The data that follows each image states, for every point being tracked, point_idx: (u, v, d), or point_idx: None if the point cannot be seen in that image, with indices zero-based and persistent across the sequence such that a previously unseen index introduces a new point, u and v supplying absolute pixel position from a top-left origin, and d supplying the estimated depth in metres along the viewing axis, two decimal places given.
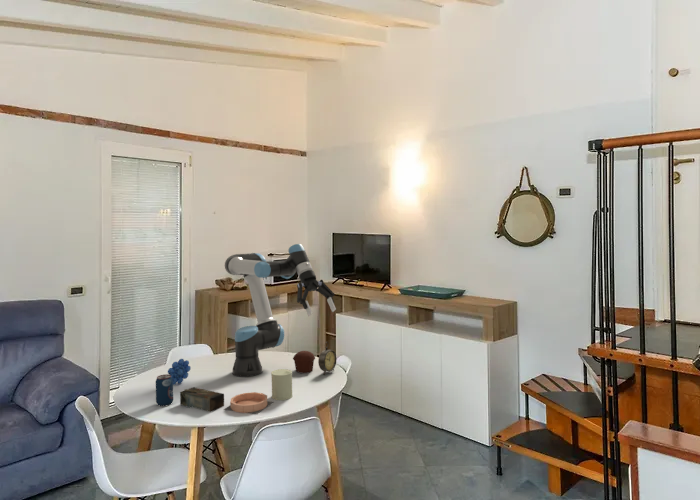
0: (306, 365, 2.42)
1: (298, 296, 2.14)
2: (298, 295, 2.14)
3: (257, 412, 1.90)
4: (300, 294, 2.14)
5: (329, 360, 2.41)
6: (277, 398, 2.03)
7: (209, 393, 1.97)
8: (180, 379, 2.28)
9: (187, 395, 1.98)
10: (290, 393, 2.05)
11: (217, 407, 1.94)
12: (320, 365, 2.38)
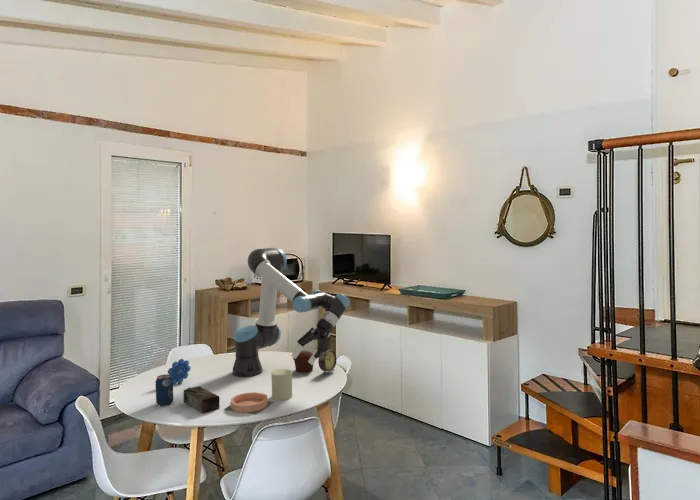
0: (306, 365, 2.42)
1: None
2: None
3: (257, 412, 1.90)
4: (302, 337, 2.24)
5: (329, 360, 2.41)
6: (277, 398, 2.03)
7: (206, 394, 1.96)
8: (180, 379, 2.28)
9: (188, 394, 2.00)
10: (290, 393, 2.05)
11: (210, 409, 1.92)
12: (320, 365, 2.38)
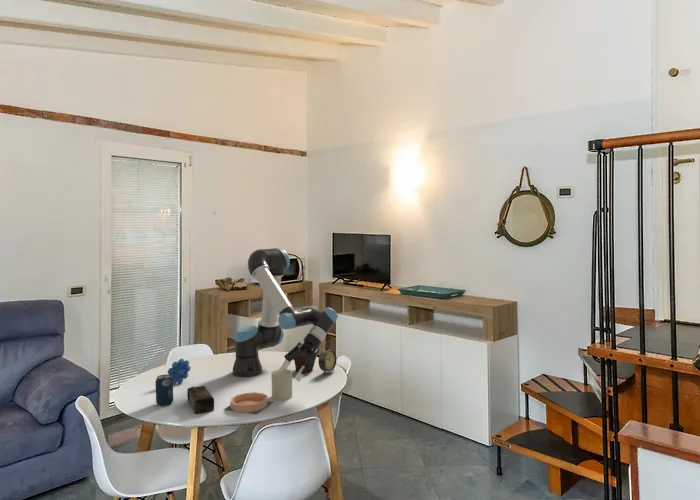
0: None
1: None
2: None
3: (257, 412, 1.90)
4: (289, 352, 2.19)
5: (329, 360, 2.41)
6: (277, 398, 2.03)
7: (202, 395, 1.95)
8: (180, 379, 2.28)
9: (189, 393, 2.01)
10: (290, 393, 2.05)
11: (204, 411, 1.90)
12: (320, 365, 2.38)
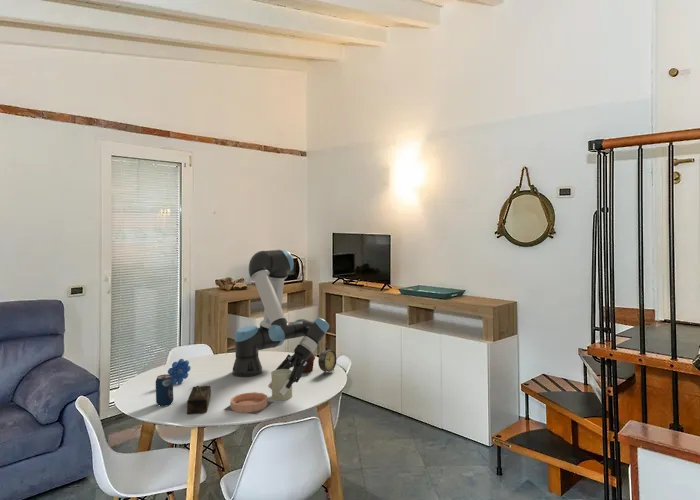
0: None
1: None
2: None
3: (257, 412, 1.90)
4: (279, 366, 2.14)
5: (329, 360, 2.41)
6: (277, 398, 2.03)
7: (198, 395, 1.94)
8: (180, 379, 2.28)
9: None
10: (290, 393, 2.05)
11: (196, 412, 1.89)
12: (320, 365, 2.38)
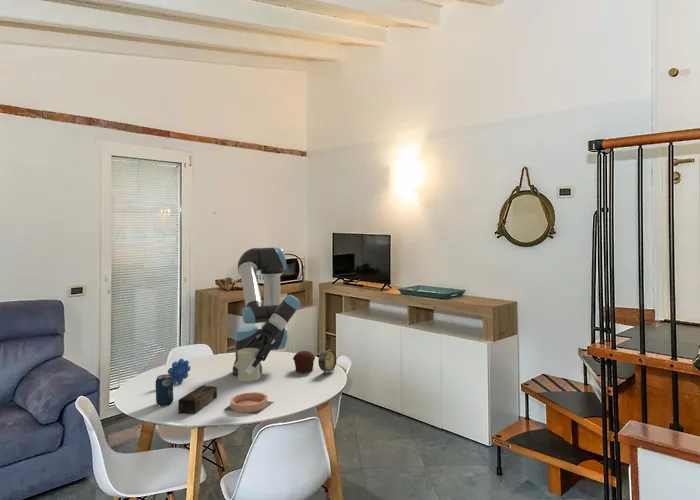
0: (306, 365, 2.42)
1: None
2: None
3: (257, 412, 1.90)
4: (247, 345, 2.03)
5: (329, 360, 2.41)
6: (243, 378, 1.92)
7: (193, 396, 1.94)
8: (180, 379, 2.28)
9: None
10: (257, 372, 1.94)
11: (185, 412, 1.89)
12: (320, 365, 2.38)
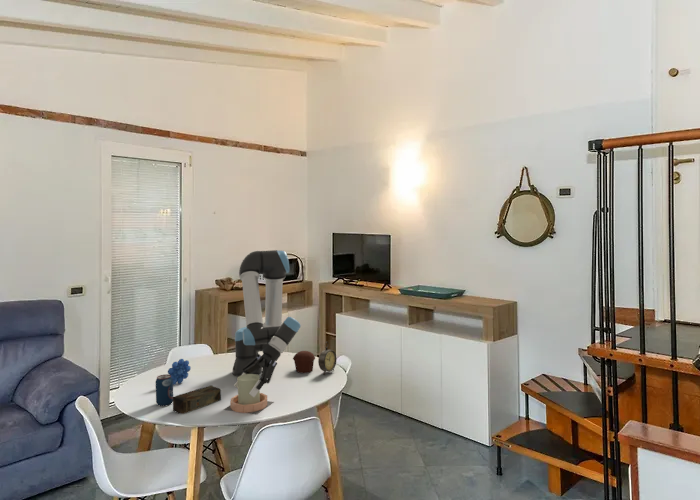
0: (306, 365, 2.42)
1: None
2: None
3: (257, 412, 1.90)
4: (247, 364, 2.05)
5: (329, 360, 2.41)
6: None
7: (188, 395, 1.95)
8: (180, 379, 2.28)
9: None
10: (257, 399, 1.95)
11: (176, 410, 1.92)
12: (320, 365, 2.38)
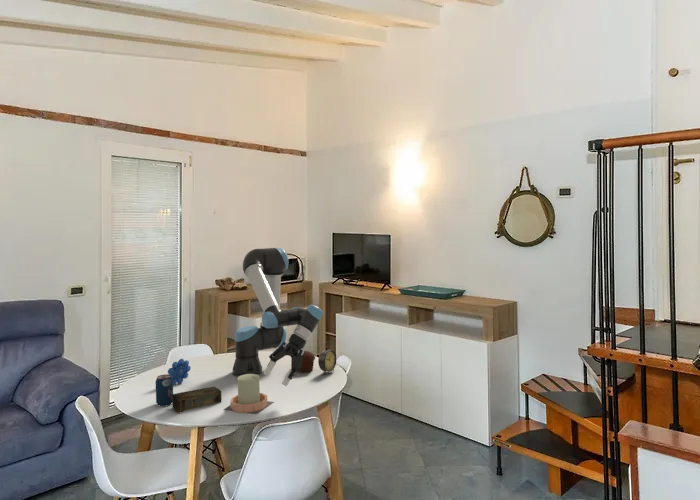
0: (306, 365, 2.42)
1: None
2: None
3: (257, 412, 1.90)
4: (273, 352, 2.12)
5: (329, 360, 2.41)
6: None
7: (186, 394, 1.96)
8: (180, 379, 2.28)
9: None
10: (257, 399, 1.95)
11: (173, 407, 1.94)
12: (320, 365, 2.38)
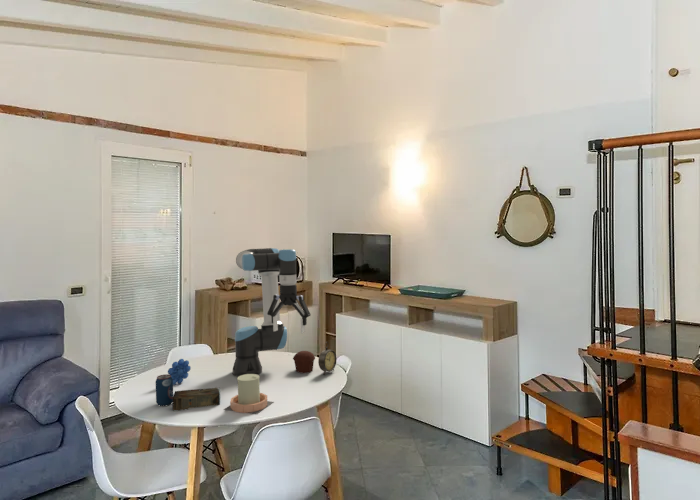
0: (306, 365, 2.42)
1: None
2: None
3: (257, 412, 1.90)
4: (270, 308, 2.10)
5: (329, 360, 2.41)
6: None
7: (185, 392, 1.98)
8: (180, 379, 2.28)
9: None
10: (257, 399, 1.95)
11: None
12: (320, 365, 2.38)
